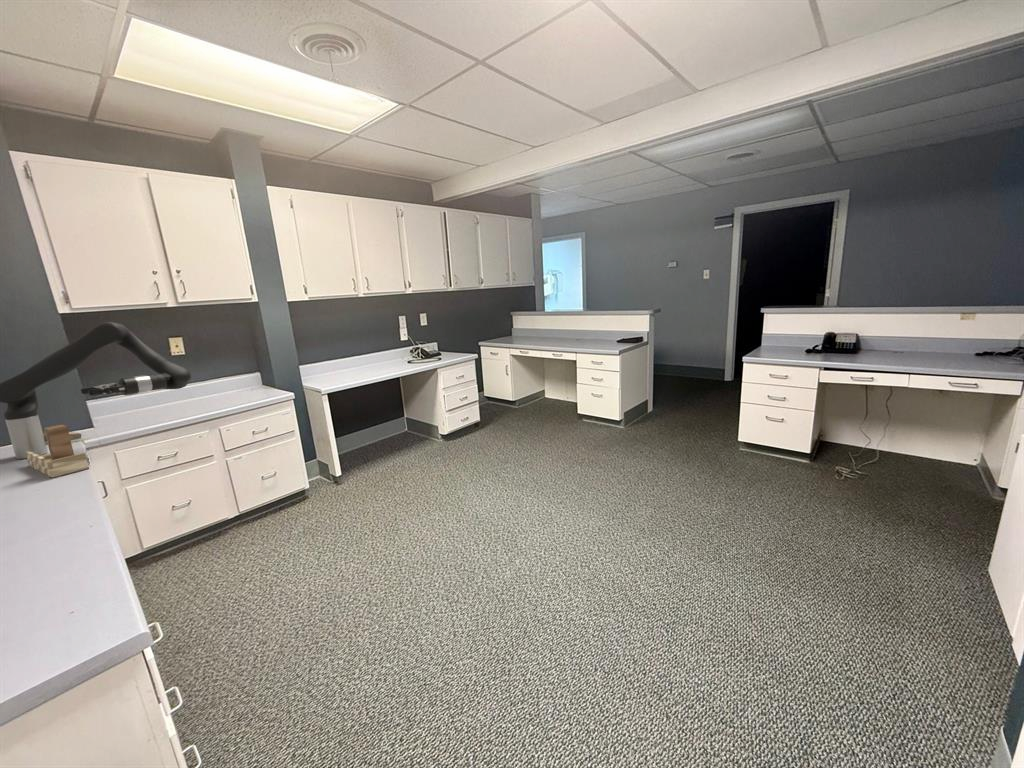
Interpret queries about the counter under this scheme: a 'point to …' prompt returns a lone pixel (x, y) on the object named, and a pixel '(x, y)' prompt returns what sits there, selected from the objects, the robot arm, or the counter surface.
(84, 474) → the counter surface
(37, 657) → the counter surface
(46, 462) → the box
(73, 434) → the packaged product
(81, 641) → the counter surface
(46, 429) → the walnut block
